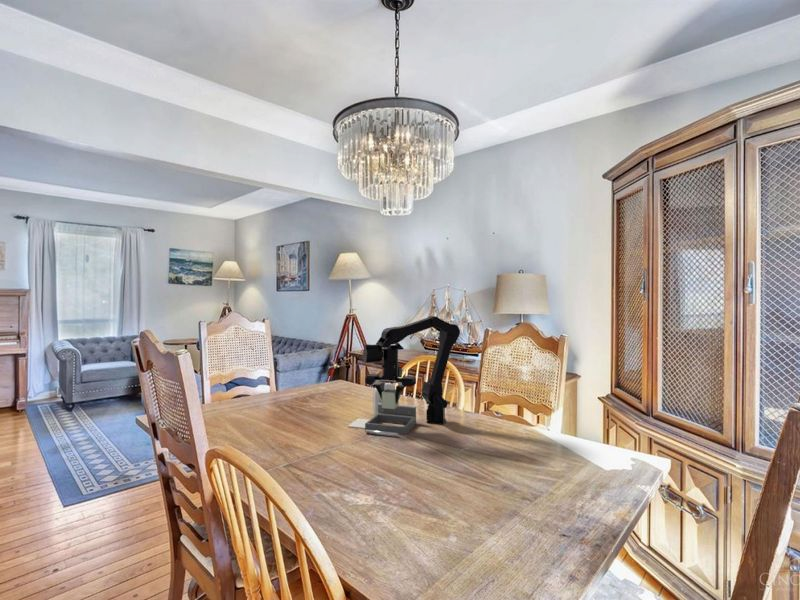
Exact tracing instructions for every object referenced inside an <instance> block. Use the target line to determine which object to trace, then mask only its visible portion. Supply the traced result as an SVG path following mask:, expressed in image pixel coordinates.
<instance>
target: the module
mask: <svg viewBox="0 0 800 600" xmlns="http://www.w3.org/2000/svg"><path fill="white" fill-rule="evenodd" d="M399 402H400V400H399V401H398V403H396V389H395V390H394V389H386V390H384V391H383V392H382V408H388V409H395V408H396V407H398V406H399V405H400V404H399Z"/></svg>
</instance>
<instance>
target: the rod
mask: <svg viewBox="0 0 800 600" xmlns="http://www.w3.org/2000/svg"><path fill="white" fill-rule="evenodd" d="M365 434H368V435H377V436H385V437H386V436H387V437H394V438H399V435H400V434H398V433H394V432H385V431H376V430H367V429H366V430H365Z"/></svg>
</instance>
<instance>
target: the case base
mask: <svg viewBox="0 0 800 600" xmlns="http://www.w3.org/2000/svg"><path fill="white" fill-rule="evenodd" d="M378 422H384V423H392V424H393V423H394V424H403V425H404V424H405V425H404V426H400V425H391V424H380V423H378ZM415 424H416V423H415V417H411V416H401V415H391V414H380V413H377V414H375V415H374V416H373V417H372V418H370V419H369V421H368V422H366V423H365V429H364V430H365V431H366V429H367V430H376V431H385V432H394V433H398V434H399V435H407V433H408V432H409V431H411V429H412V428H413V427H414V426H415Z"/></svg>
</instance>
